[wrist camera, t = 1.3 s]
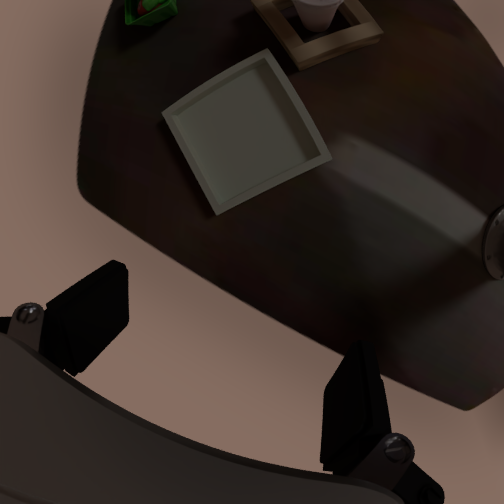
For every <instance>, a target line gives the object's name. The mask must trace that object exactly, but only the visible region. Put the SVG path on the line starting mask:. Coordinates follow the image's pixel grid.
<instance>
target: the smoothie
mask: <svg viewBox="0 0 504 504" xmlns="http://www.w3.org/2000/svg"><path fill="white" fill-rule="evenodd" d="M291 1H293V3H294V6H295V8H296V10H297V12H298V14H299V17H300V19H301V21H302V24H303V26H304V27H305V28H306V29H308V30H310V31H312V32H323V31H325V30H327V29H328V28H329V26H330V24H331V21H332V19H333V17H334V15H335V12H336V10H337V8H338V6H339V5H340V4H341V3H342V2H343V1H344V0H291Z"/></svg>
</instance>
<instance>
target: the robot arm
mask: <svg viewBox="0 0 504 504" xmlns="http://www.w3.org/2000/svg"><path fill="white" fill-rule="evenodd" d="M482 255H483V262H484V265H485V268H486V270H487V271H488V273H489V274H490V275H491V276H492V277H493V278H495V279H497V280H504V206H502V207H500V208H499V209H498V210H497V211H496V212H495V214H494V215H493V216H492V218H491V220H490V222H489V224H488V226H487V228H486V231H485V235H484V240H483V248H482ZM128 301H129V299H128V270H127V269H126V266H125V264H123V263H121V262H118V261H116V260H111V261H109V262H108V263H106V264H105V265H103V266H101V267H100V268H98V269H97V270H95V271H94V272H92V273H91V274H89V275H87V276H86V277H84V278H83V279H81V280H80V281H78V282H77V283H75V284H74V285H73V286H71V287H69V288H68V289H67V290H65V291H64V292H62V293H61V294H59V295H58V296H56V297H55V298H54V299H52V300H51V301H49V302H48V303H46V307H47V309H46V310H43V307H41V306H40V305H39V304H37V303H25V304H22V305H20V306H18V307H17V308H16V309H15V311H14V313H13V315H12V317H0V504H443V503H444V499H445V497H444V491H443V489H442V487H441V486H440V485H439V484H438V483H437V482H435V481H434V480H433V479H432V478H431V477H430V476H429V475H427V474H426V473H425V472H424V471H423V470H422V469H421V468H419V467H418V466H417V465H416V464H415V463H414V462H413V458H414V455H415V453H414V452H415V450H414V446H413V444H412V442H411V441H410V440H409V439H408V438H407V437H406V436H404V435H402V434H399V433H392V431H391V423H390V417H389V411H388V405H387V399H386V393H385V388H384V383H383V380H382V379H381V376H380V371H379V367H378V362H377V357H376V353H375V348H374V344H373V343H371V342H367V341H363V340H358V341H357V343H355V342H353V343H352V345H351V346H350V348H349V350H348V351H347V353H346V355H345V356H344V358H343V360H342V362H341V363H340V365H339V367H338V368H337V370H336V371H335V373H334V375H333V376H332V378H331V379H330V381H329V382H328V384H327V386H326V388H325V391H324V399H323V422H322V437H321V452H320V463H323V471H331V472H333V475H332V474H325V473H319V472H312V471H306V470H300V469H294V468H289V467H284V466H279V465H275V464H270V463H265V462H261V461H258V460H254V459H249V458H246V457H242V456H239V455H235V454H232V453H228V452H225V451H222V450H219V449H216V448H213V447H210V446H207V445H204V444H201V443H199V442H196V441H193V440H191V439H188V438H186V437H183V436H181V435H178V434H176V433H173V432H171V431H169V430H166V429H164V428H162V427H160V426H157V425H155V424H153V423H151V422H149V421H147V420H145V419H143V418H141V417H139V416H137V415H135V414H133V413H131V412H129V411H127V410H125V409H123V408H122V407H120V406H118V405H116V404H114V403H113V402H111V401H109V400H107V399H106V398H104V397H102V396H101V395H99V394H97V393H96V392H94V391H92V390H91V389H89V388H88V387H86V386H85V385H83V384H82V383H80V382H79V381H77V380H76V379H74V378H72V377H71V376H70V375H68V374H67V373H65V372H64V371H63V370H64V369H65V371H66V372H68V373H69V374H71V375H72V376H74V377H75V376H76V375H77V374H78V373H81V372H83V371H84V370H85V369H86V368H87V367H88V366H89V365H90V364H91V363H92V362H93V360H94V359H95V358H96V357H97V356H98V355H99V354H100V353H101V352H102V351H103V350H104V349H105V348H106V347H107V346H108V345H109V344H110V343H111V341H112V340H114V339H115V338H116V336H117V335H118V334H119V333H120V332H121V331H122V330H123V329H124V328H125V327H126V326H127V324H128V322H129V304H128V303H129V302H128Z"/></svg>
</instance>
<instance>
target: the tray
mask: <svg viewBox="0 0 504 504" xmlns="http://www.w3.org/2000/svg"><path fill="white" fill-rule="evenodd" d="M162 114H163V116H164V118H165V120H166V122H167V124H168V126H169V128H170V130H171V131H172V133H173V135H174V137H175V139H176V141H177V143H178V145H179V147H180V149H181V150H182V152H183V154H184V156H185V158H186V160H187V162H188V164H189V165H190V167H191V169H192V171H193V173H194V175H195V177H196V179H197V180H198V182H199V184H200V186H201V188H202V190H203V192H204V193H205V195H206V197H207V199H208V201H209V203H210V205H211V206H212V208H213V210H214V212H215V214H216V216H217V215H219V214H221V213H223V212H225V211H226V210H228V209H230V208H232V207H234V206H236V205H238V204H240V203H242V202H244V201H246V200H248V199H250V198H252V197H254V196H256V195H258V194H260V193H262V192H264V191H266V190H268V189H270V188H272V187H274V186H276V185H278V184H280V183H282V182H284V181H287V180H289V179H291V178H293V177H295V176H297V175H299V174H301V173H303V172H306V171H308V170H310V169H312V168H314V167H316V166H319V165H321V164H323V163H325V162H327V161H330V160H332V157H331V155H330V153H329V151H328V149H327V147H326V145H325V143H324V141H323V139H322V137H321V135H320V133H319V131H318V129H317V128H316V126H315V124H314V122H313V120H312V119H311V117H310V115H309V113H308V111H307V110H306V108H305V106H304V104H303V103H302V101H301V99H300V98H299V96H298V94H297V93H296V91H295V89H294V88H293V86H292V84H291V83H290V81H289V80H288V78H287V76H286V75H285V73H284V72H283V70H282V69H281V67H280V66H279V64H278V63H277V61H276V60H275V58H274V57H273V55H272V54H271V52H270V51H269V49H268V48H267V49H265V50H263V51H260V52H258V53H256V54H255V55H253V56H251V57H249V58H247V59H245V60H243V61H241V62H239V63H238V64H236V65H234V66H232V67H230V68H229V69H227V70H225V71H223V72H222V73H220V74H218V75H217V76H215V77H213V78H212V79H210V80H208V81H207V82H205V83H204V84H202V85H201V86H199V87H198V88H196V89H194V90H193V91H191V92H190V93H188V94H187V95H186V96H184V97H183V98H181V99H180V100H178V101H177V102H175V103H174V104H173V105H171V106H170V107H169V108H167V109H166V110H165V111H163V112H162Z"/></svg>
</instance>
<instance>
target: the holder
mask: <svg viewBox="0 0 504 504" xmlns="http://www.w3.org/2000/svg"><path fill="white" fill-rule="evenodd" d="M250 1H251V3H252V5H253V7H254V9H255V11H256V12H257V13H258V14H259V16H260V17H261V18H262V19H263V21H264V22H265V23H266V24H267V26H268V27H269V28H270V30H271V31H272V32H273V34H274V35H275V36H276V38H277V39H278V40H279V42H280V43H281V45H282V46H283V47H284V49H285V50H286V52H287V53H288V55H289V56H290V58H291V59H292V61H293V62H294V64H295V65H296V67H297V68H298V70H299V71H302V70H304V69H306V68H309V67H311V66H313V65H316V64H318V63H321V62H323V61H326V60H328V59H331V58H333V57H336V56H339V55H341V54H344V53H347V52H350V51H353V50H356V49H359V48H362V47H365V46H368V45H371V44H375V43H378V41H379V40H380V38H381V36H382V35H383V31H382V30H381V29H380V27H379V26H378V24H377V23H376V22H375V21H374V19H373V18H372V17H371V15H370V14H369V13H368V12H367V10H366V9H365V8H364V7H363V6H362V4H361V3H360V2H359V1H358V0H344V1H343V2H342V3H341V4H340V5H339V6H338V8H337V9H338V10H339V11H340V13H341V14H342V15H343V16H344V18H345V19H346V20H347V21H348V23H349V24H350V25H351V26H352V27H350V28H347V29H344V30H341V31H338V32H335V33H332V34H329V35H326V36H324V37H321V38H318V39H316V40H313V41H310V42H308V43H306V44H304V42H303V41H302V40H301V38H300V37H299V36H298V34H297V33H296V32H295V30H294V29H293V28H292V26H291V25H290V24H289V23H288V21H287V20H286V19H285V18H284V16H283V15H282V14H281V13H280V11H281V10H283V9H286V8H288V7H291V6H293V5H294V3H293V1H291V0H250Z"/></svg>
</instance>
